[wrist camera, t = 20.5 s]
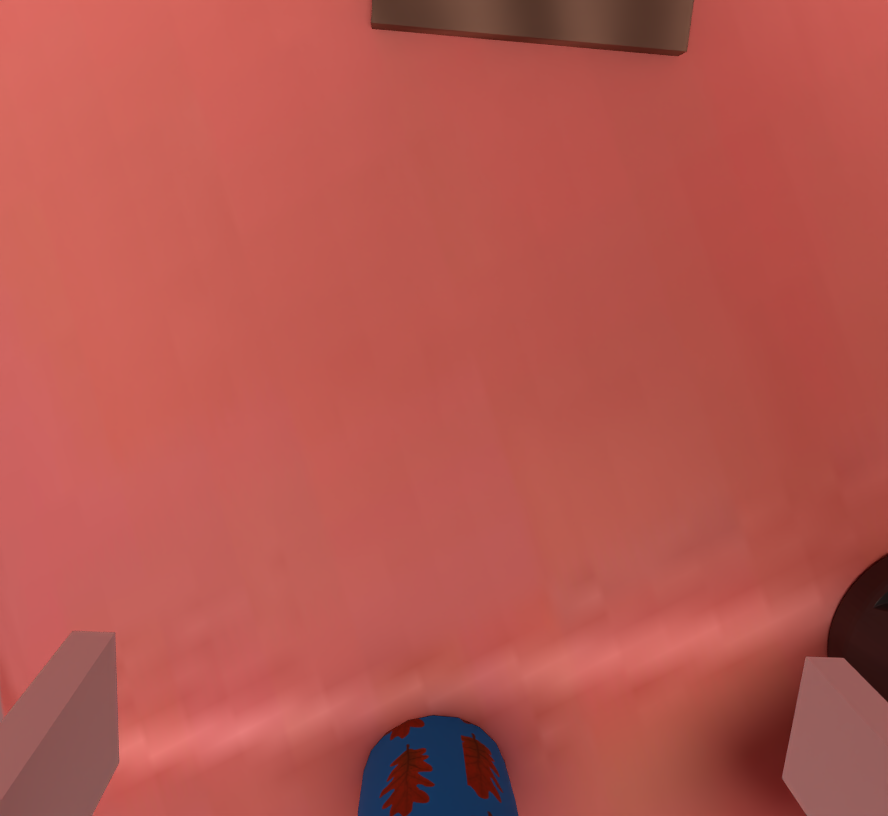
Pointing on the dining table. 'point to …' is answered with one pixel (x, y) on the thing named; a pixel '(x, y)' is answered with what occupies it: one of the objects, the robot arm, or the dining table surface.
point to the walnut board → (548, 22)
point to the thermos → (436, 772)
